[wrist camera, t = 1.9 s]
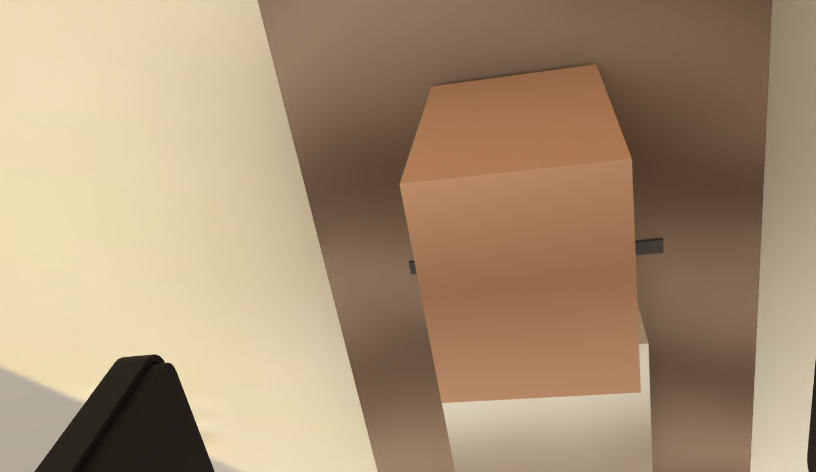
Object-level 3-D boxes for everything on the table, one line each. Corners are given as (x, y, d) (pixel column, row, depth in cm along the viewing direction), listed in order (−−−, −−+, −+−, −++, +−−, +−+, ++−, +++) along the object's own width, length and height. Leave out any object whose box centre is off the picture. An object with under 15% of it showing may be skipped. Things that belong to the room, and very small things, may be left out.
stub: (607, 246, 20) (640, 392, 15) (459, 260, 21) (441, 403, 15) (596, 64, 18) (631, 158, 12) (431, 86, 18) (399, 184, 13)
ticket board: (736, 465, 25) (789, 612, 20) (393, 477, 28) (368, 612, 23) (767, -406, 15) (889, -524, 10) (210, -272, 17) (92, -316, 12)
